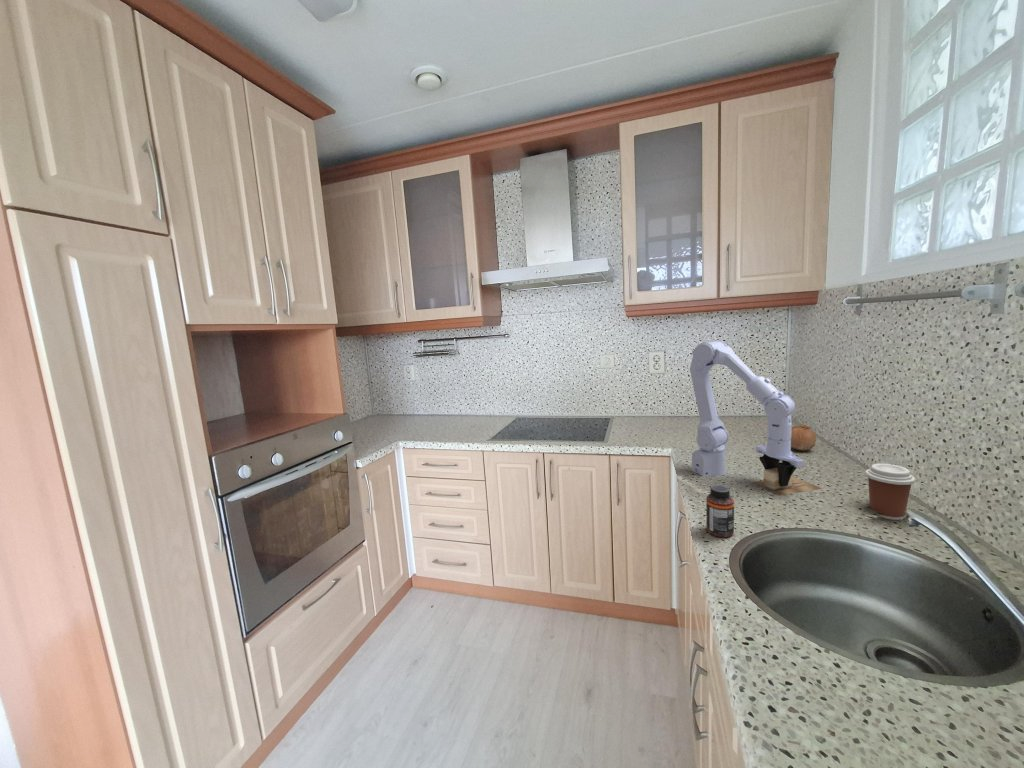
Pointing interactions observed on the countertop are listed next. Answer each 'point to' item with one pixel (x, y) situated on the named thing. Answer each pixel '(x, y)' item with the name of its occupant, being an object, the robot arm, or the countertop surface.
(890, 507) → the coffee cup
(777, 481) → the block
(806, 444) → the onion
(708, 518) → the supplement bottle
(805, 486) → the board
